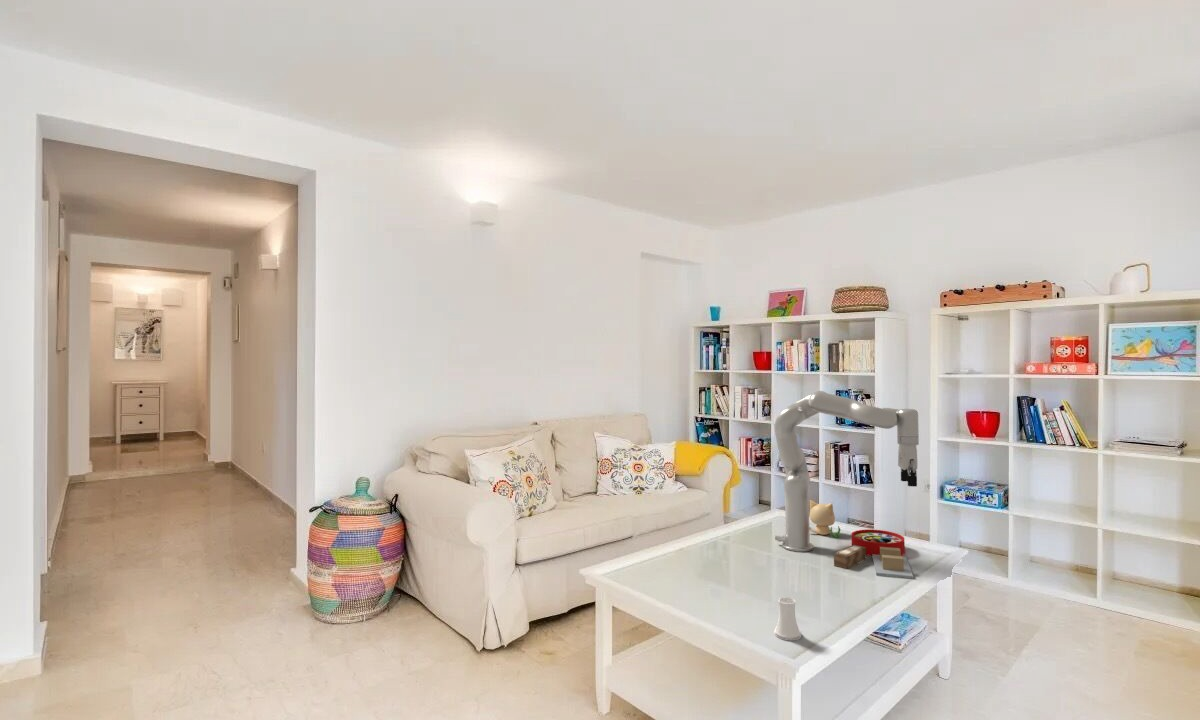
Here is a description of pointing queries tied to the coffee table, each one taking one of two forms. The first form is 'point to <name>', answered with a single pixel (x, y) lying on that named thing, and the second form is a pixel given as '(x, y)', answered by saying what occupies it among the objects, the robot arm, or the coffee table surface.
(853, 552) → the wooden block
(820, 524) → the kitten
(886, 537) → the toy clock
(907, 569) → the wall board
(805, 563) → the coffee table surface
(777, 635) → the white flared vase
